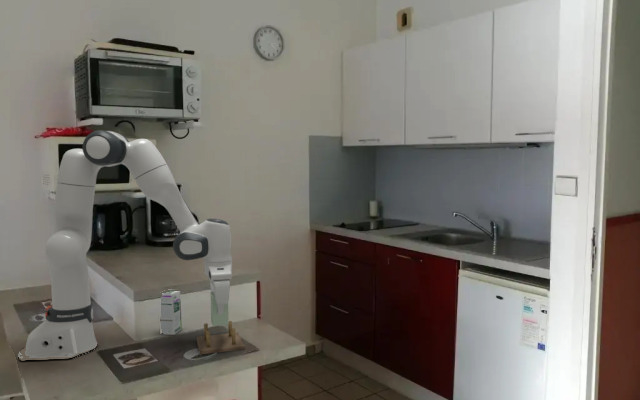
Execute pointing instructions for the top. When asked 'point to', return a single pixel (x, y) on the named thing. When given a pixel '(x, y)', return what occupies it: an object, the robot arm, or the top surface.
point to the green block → (218, 318)
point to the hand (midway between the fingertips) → (219, 311)
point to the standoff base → (219, 341)
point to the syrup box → (170, 313)
